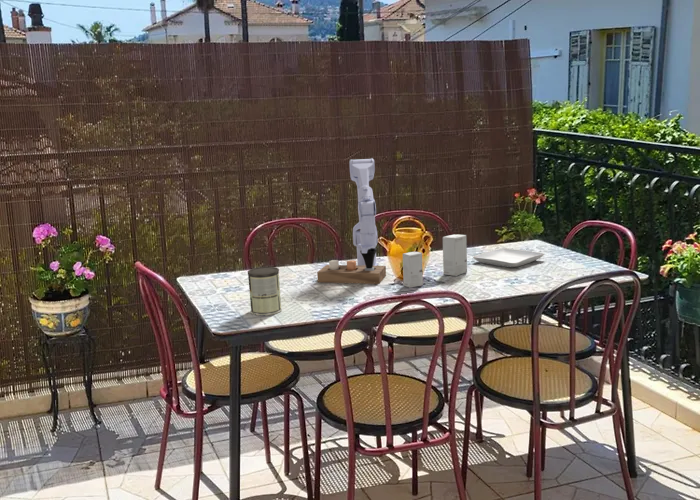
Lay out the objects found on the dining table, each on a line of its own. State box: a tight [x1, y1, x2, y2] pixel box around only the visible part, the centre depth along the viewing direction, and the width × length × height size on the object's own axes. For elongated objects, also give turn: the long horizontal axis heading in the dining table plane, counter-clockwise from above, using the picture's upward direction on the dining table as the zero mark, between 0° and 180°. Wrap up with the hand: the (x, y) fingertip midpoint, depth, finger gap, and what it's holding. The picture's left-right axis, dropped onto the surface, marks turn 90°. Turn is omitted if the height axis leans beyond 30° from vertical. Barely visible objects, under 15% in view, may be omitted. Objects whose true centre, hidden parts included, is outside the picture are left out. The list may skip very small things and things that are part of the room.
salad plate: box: [472, 247, 545, 268], centre depth 293 cm, size 21×21×3 cm
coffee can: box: [247, 266, 282, 316], centre depth 239 cm, size 10×10×14 cm
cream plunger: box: [328, 259, 340, 270], centre depth 278 cm, size 4×4×4 cm
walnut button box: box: [316, 264, 387, 285], centre depth 276 cm, size 12×24×4 cm, turn 75°
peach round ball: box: [346, 259, 357, 270], centre depth 276 cm, size 4×4×4 cm
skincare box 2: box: [442, 233, 468, 277], centre depth 276 cm, size 8×6×15 cm
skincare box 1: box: [402, 251, 424, 289], centre depth 262 cm, size 6×4×12 cm
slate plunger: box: [365, 267, 374, 271], centre depth 274 cm, size 4×4×4 cm
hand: (369, 267), depth 274 cm, fingers closed, pressing on slate plunger
